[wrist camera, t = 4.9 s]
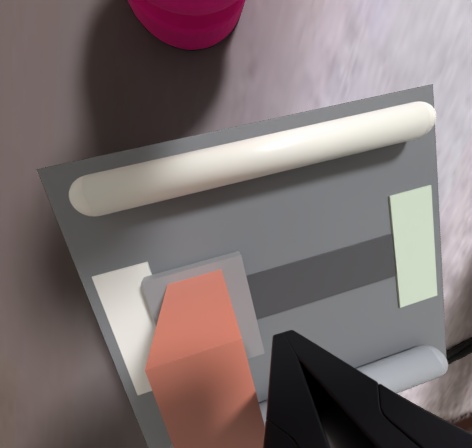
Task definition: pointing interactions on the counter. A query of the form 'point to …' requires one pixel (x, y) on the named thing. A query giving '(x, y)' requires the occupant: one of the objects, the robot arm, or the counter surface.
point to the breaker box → (273, 236)
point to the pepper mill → (188, 20)
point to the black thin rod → (459, 351)
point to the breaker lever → (205, 354)
